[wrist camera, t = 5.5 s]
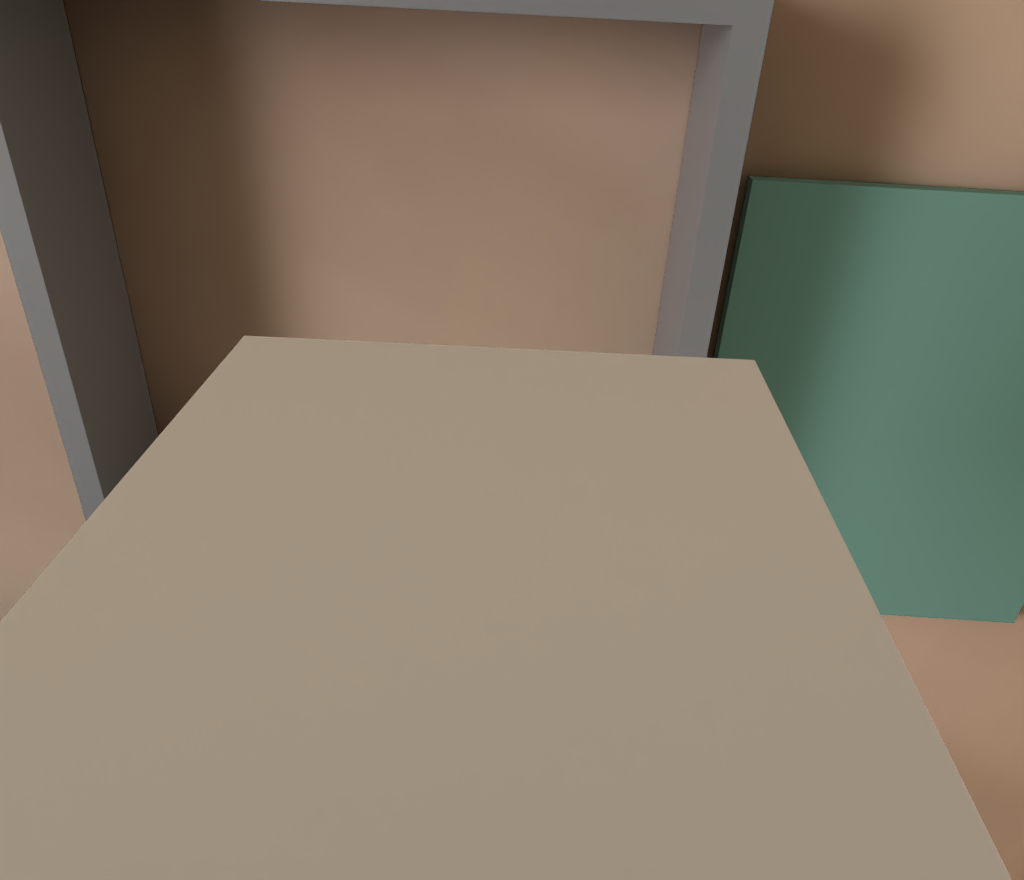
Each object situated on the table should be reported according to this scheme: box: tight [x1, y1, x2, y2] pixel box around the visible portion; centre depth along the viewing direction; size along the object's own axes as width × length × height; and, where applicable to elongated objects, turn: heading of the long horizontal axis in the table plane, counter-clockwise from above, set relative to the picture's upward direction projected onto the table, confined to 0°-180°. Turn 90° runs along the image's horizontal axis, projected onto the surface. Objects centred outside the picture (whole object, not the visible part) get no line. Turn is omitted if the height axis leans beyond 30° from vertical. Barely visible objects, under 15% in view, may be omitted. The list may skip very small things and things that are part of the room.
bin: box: [0, 0, 774, 521], centre depth 18 cm, size 14×13×3 cm
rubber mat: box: [714, 176, 1024, 623], centre depth 20 cm, size 10×12×1 cm
